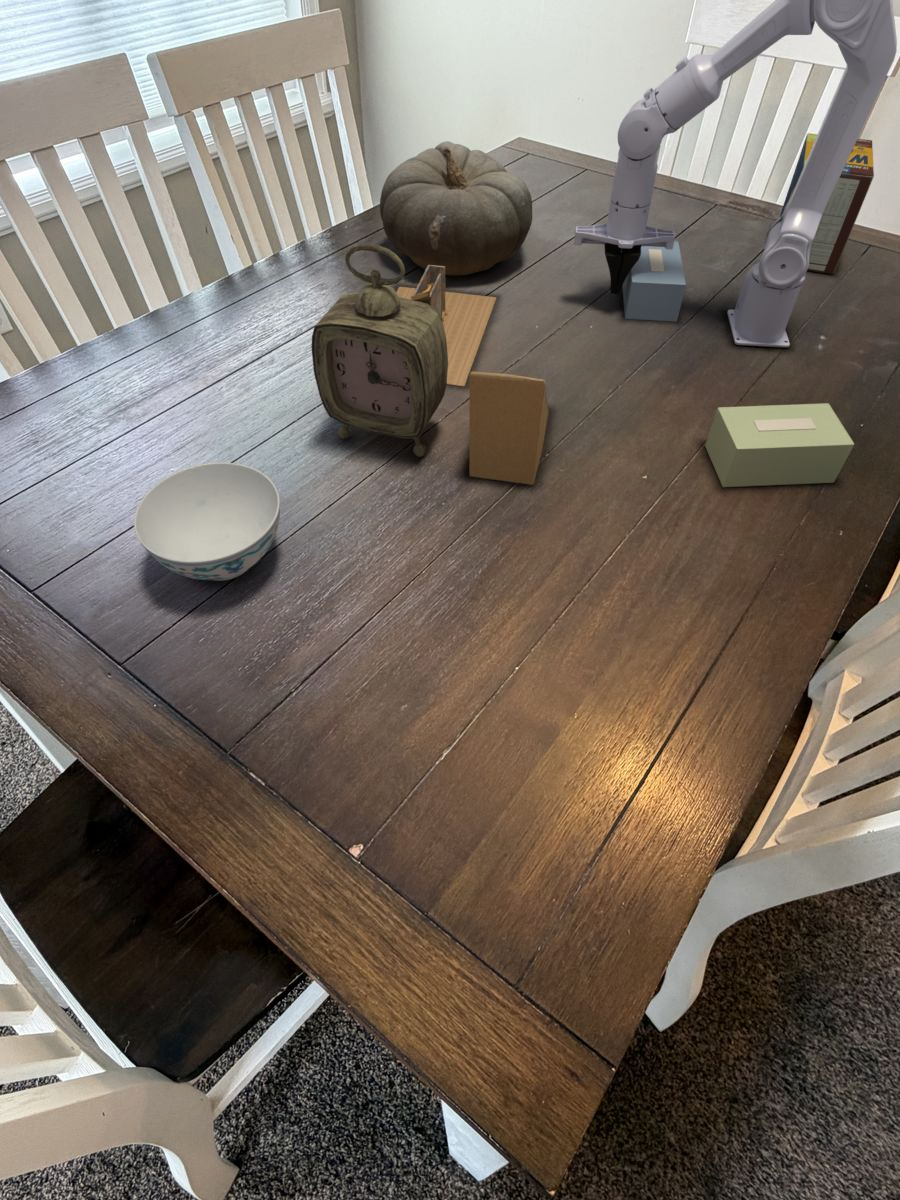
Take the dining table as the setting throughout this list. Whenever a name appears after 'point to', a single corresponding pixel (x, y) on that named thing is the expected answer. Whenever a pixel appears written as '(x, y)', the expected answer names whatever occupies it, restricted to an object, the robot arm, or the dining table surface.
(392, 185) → the gourd
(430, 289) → the architectural model on board
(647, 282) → the back tissue box
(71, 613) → the dining table surface
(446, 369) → the tabletop clock
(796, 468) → the front tissue box
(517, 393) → the sandwich container
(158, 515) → the chinaware
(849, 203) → the protein box
